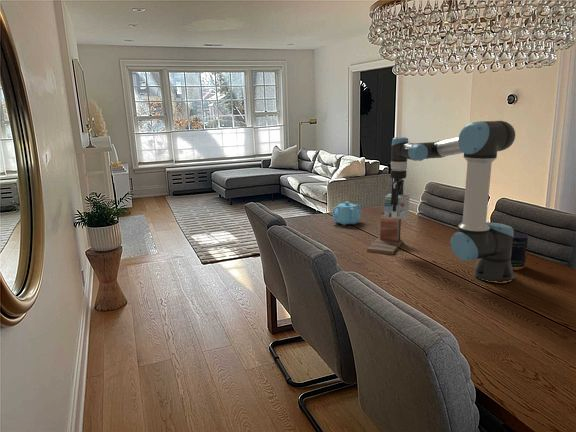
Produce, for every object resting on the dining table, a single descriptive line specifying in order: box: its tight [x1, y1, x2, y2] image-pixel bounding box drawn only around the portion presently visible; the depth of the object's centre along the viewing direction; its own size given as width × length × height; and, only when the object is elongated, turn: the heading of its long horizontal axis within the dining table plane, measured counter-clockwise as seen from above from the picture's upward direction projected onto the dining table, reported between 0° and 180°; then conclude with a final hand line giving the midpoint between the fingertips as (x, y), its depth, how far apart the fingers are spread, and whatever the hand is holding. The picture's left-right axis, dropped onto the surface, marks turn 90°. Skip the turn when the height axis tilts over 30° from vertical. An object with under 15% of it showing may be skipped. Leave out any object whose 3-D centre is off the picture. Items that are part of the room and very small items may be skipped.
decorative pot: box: [331, 200, 362, 226], centre depth 275 cm, size 16×16×14 cm
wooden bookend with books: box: [366, 211, 404, 256], centre depth 228 cm, size 22×13×16 cm, turn 153°
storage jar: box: [511, 231, 529, 267], centre depth 197 cm, size 10×10×15 cm
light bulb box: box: [383, 193, 410, 220], centre depth 219 cm, size 11×7×11 cm, turn 61°
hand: (396, 215), depth 221 cm, fingers closed on light bulb box, 7 cm apart
